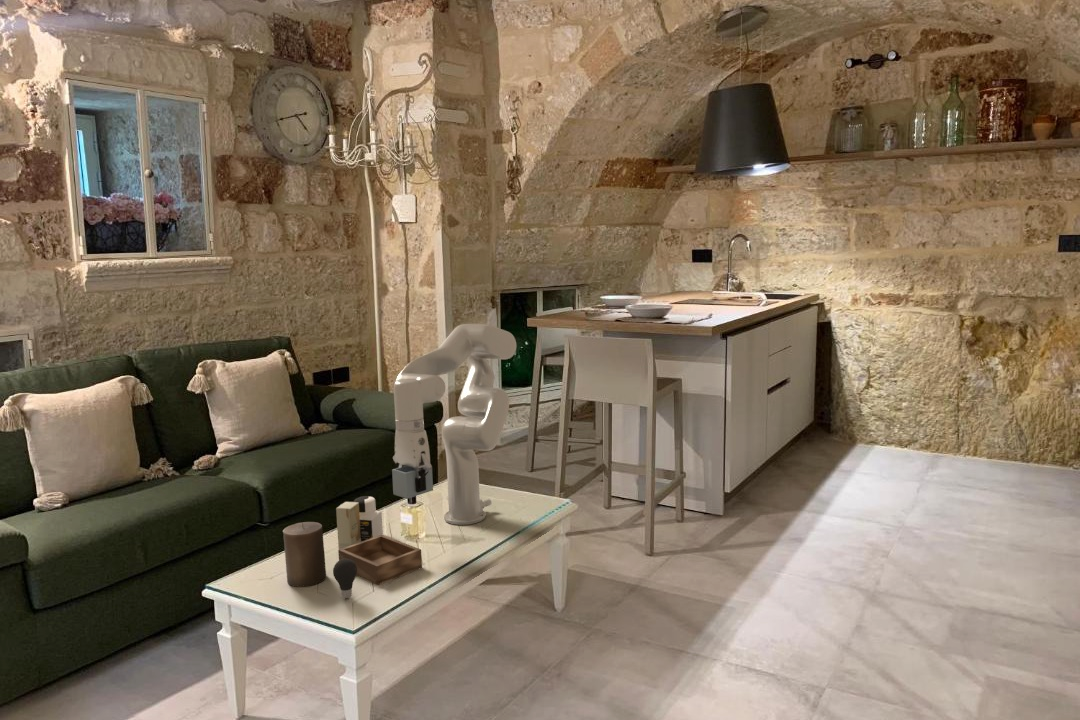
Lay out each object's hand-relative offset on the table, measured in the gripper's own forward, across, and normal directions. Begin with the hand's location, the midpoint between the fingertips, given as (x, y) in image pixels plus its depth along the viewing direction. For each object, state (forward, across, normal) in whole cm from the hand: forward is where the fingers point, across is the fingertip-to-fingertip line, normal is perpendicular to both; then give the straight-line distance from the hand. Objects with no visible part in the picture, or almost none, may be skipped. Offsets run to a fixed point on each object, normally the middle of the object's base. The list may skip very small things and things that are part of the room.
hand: (413, 488), depth 228 cm
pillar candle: (+18, +6, +31) cm, 36 cm away
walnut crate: (+17, -3, +14) cm, 23 cm away
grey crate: (+1, 0, 0) cm, 1 cm away
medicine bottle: (+18, +18, +4) cm, 26 cm away
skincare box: (+18, +16, +11) cm, 26 cm away
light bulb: (+18, -12, +31) cm, 37 cm away
